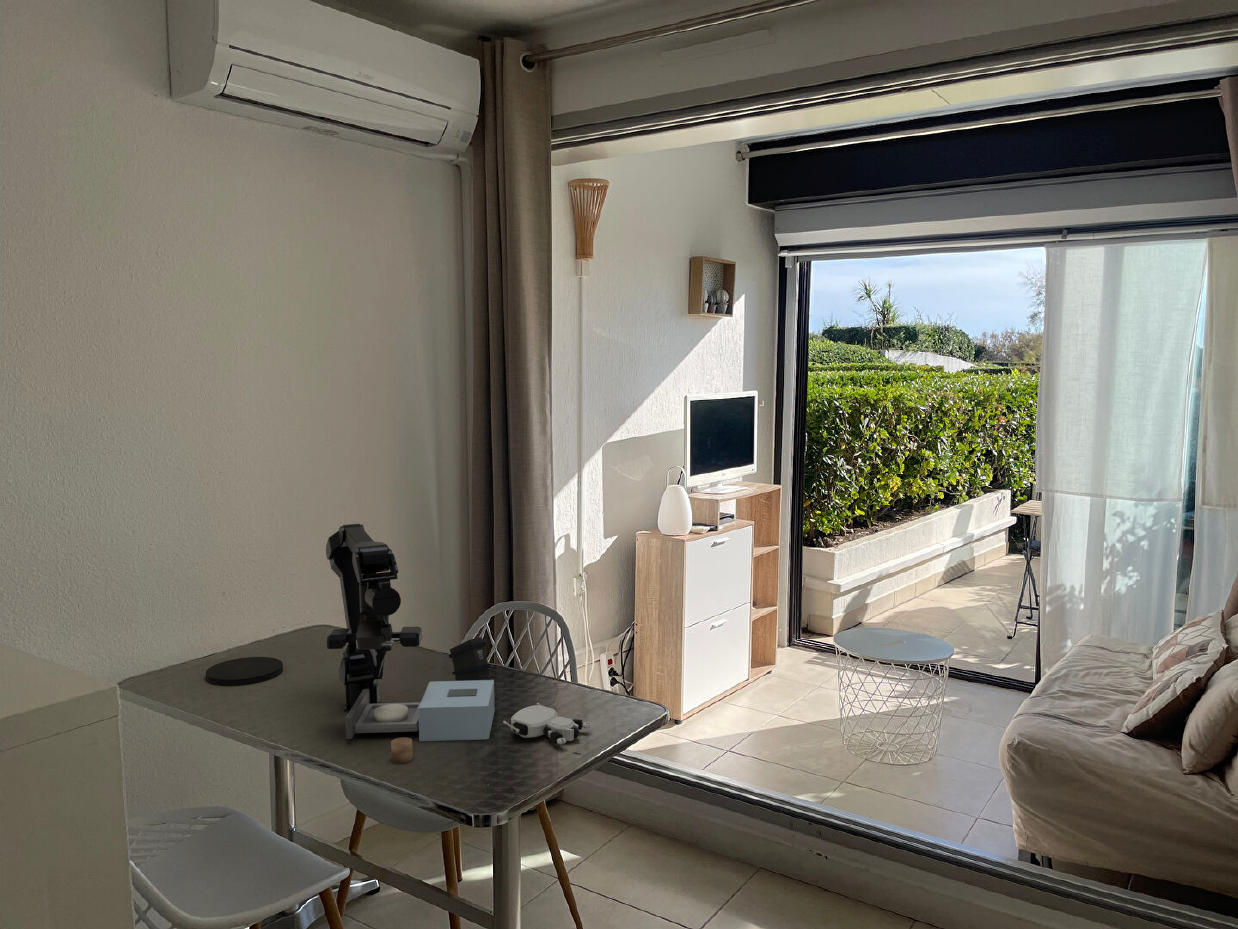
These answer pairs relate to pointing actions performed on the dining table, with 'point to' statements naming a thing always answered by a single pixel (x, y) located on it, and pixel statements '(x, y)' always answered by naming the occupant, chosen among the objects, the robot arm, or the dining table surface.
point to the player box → (456, 710)
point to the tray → (364, 722)
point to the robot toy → (545, 724)
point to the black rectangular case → (470, 661)
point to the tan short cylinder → (401, 750)
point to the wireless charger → (244, 671)
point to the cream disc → (391, 713)
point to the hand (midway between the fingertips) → (376, 677)
